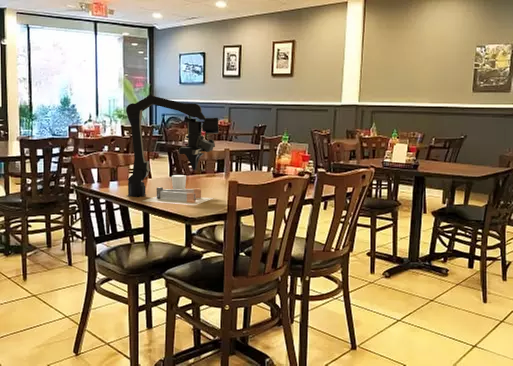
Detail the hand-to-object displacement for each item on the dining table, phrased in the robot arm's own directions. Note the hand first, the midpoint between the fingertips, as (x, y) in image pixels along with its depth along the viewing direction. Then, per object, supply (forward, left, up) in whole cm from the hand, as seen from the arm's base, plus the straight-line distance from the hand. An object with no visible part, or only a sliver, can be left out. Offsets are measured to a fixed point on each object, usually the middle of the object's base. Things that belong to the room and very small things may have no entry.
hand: (194, 169), depth 222 cm
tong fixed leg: (-1, -15, -11) cm, 19 cm away
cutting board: (-2, -11, -12) cm, 17 cm away
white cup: (-15, +15, -12) cm, 24 cm away
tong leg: (-3, -9, -11) cm, 14 cm away
